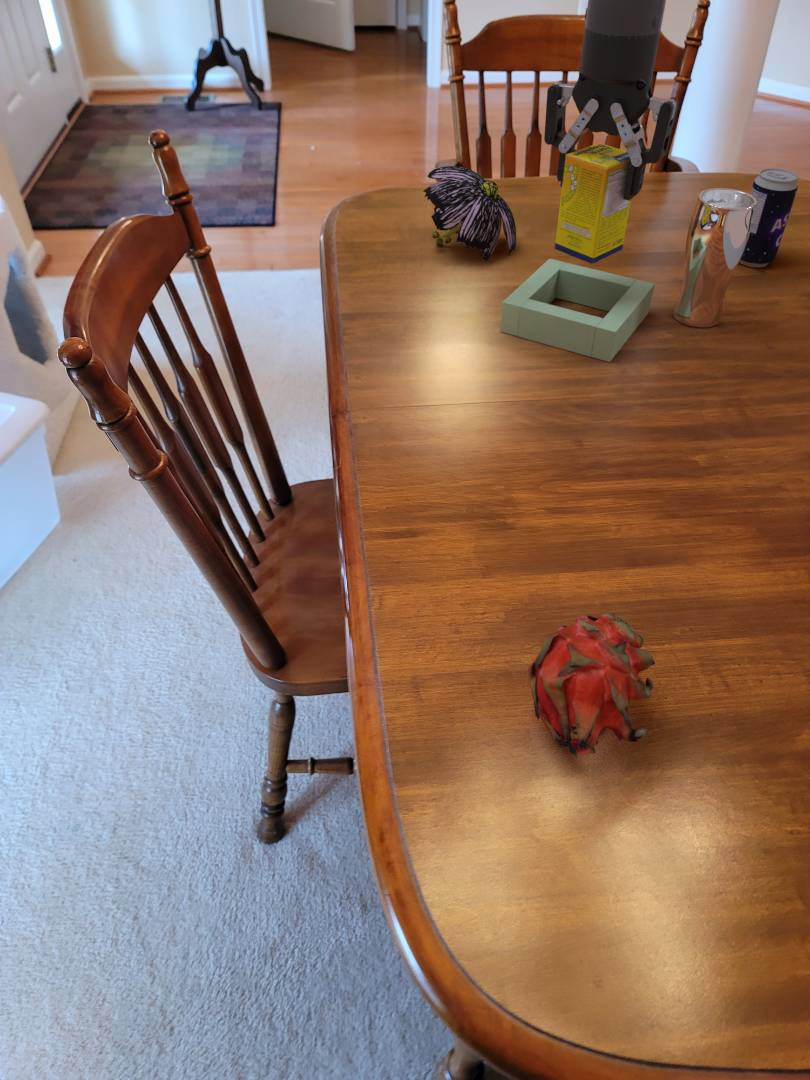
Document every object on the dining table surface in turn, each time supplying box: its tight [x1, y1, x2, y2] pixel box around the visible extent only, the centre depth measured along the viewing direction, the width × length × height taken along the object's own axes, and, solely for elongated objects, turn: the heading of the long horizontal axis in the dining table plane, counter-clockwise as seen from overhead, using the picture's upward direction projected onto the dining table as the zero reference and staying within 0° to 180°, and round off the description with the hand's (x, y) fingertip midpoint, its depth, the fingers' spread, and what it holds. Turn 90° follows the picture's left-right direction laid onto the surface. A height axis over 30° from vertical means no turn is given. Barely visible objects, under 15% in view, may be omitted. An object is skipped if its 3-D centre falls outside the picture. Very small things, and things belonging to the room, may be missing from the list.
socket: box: [499, 258, 656, 363], centre depth 104 cm, size 14×14×4 cm
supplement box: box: [554, 142, 632, 265], centre depth 96 cm, size 6×6×11 cm
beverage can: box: [739, 167, 799, 268], centre depth 115 cm, size 6×6×12 cm
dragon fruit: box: [527, 612, 656, 758], centre depth 59 cm, size 8×8×12 cm
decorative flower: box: [422, 165, 517, 262], centre depth 119 cm, size 15×12×15 cm
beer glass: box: [672, 187, 757, 329], centre depth 102 cm, size 7×7×15 cm
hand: (597, 191), depth 95 cm, fingers closed on supplement box, 7 cm apart
